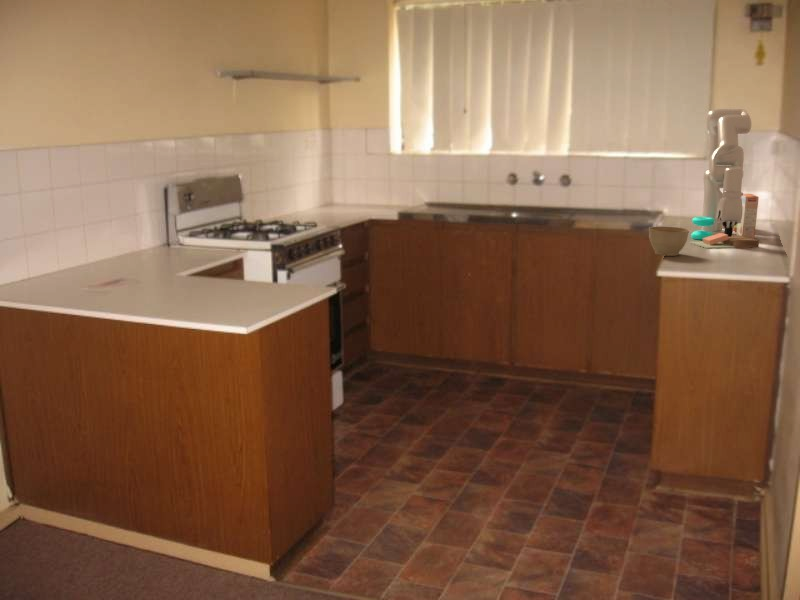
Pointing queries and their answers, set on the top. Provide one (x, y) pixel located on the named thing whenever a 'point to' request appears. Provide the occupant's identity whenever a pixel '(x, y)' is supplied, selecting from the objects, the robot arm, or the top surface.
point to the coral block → (715, 238)
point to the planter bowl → (668, 240)
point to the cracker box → (748, 216)
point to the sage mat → (717, 245)
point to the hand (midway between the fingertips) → (728, 236)
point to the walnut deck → (741, 242)
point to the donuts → (702, 222)
